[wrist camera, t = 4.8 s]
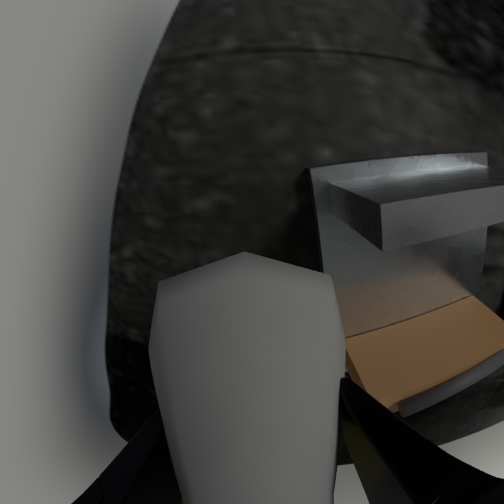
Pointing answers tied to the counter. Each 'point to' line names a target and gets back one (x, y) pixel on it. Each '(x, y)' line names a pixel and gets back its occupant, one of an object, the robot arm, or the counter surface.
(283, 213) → the counter surface
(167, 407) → the flask
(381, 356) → the block
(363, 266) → the vise base
